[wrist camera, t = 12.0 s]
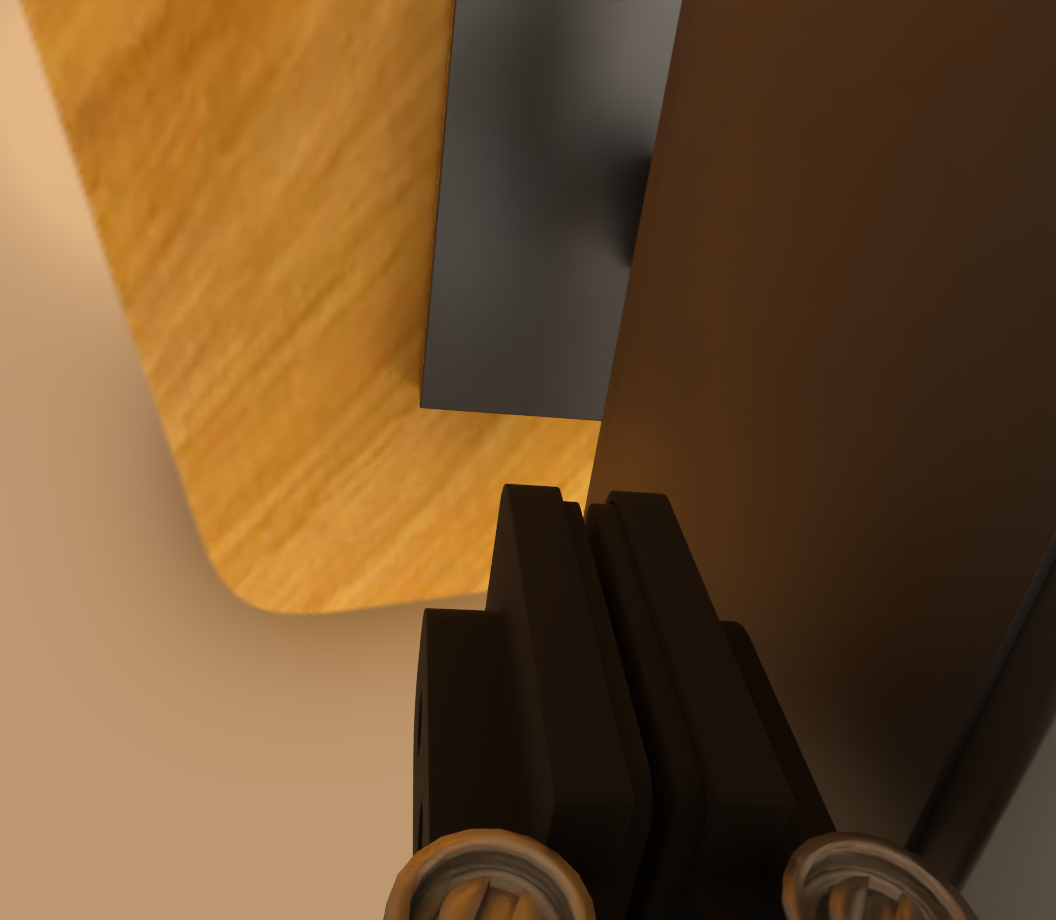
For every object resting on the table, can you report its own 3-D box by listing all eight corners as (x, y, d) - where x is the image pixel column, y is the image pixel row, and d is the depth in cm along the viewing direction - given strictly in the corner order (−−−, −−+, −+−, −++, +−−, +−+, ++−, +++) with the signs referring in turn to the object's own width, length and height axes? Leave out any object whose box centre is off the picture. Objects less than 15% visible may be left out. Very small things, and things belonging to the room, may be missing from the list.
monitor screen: (547, 675, 22) (687, 1371, 12) (719, -243, 14) (1763, -671, 3) (620, 676, 22) (820, 1356, 12) (832, -222, 14) (2118, -556, 4)
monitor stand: (419, 389, 28) (422, 671, 18) (459, -84, 22) (498, -67, 12) (749, 414, 29) (925, 686, 19) (868, -22, 24) (1211, 39, 13)
